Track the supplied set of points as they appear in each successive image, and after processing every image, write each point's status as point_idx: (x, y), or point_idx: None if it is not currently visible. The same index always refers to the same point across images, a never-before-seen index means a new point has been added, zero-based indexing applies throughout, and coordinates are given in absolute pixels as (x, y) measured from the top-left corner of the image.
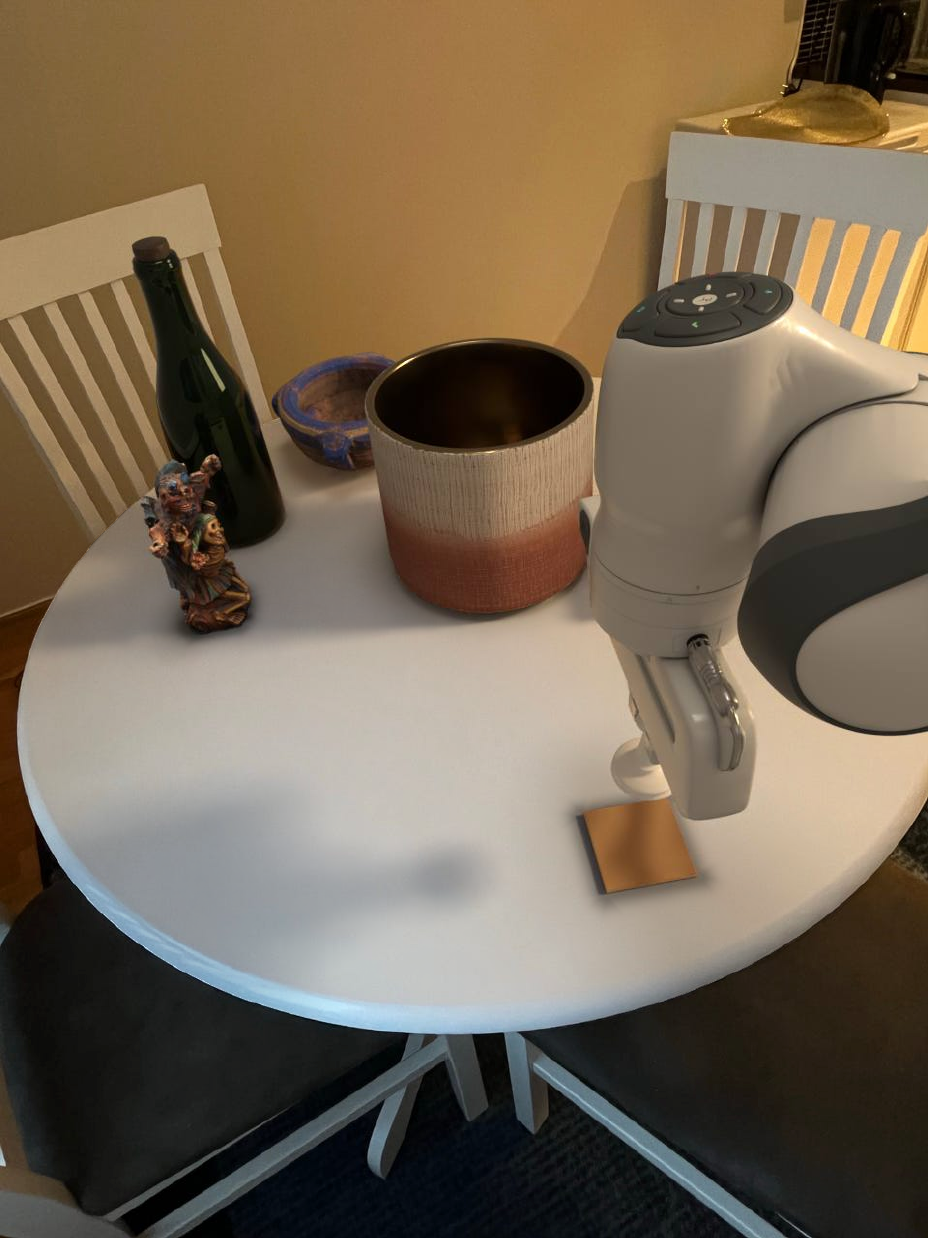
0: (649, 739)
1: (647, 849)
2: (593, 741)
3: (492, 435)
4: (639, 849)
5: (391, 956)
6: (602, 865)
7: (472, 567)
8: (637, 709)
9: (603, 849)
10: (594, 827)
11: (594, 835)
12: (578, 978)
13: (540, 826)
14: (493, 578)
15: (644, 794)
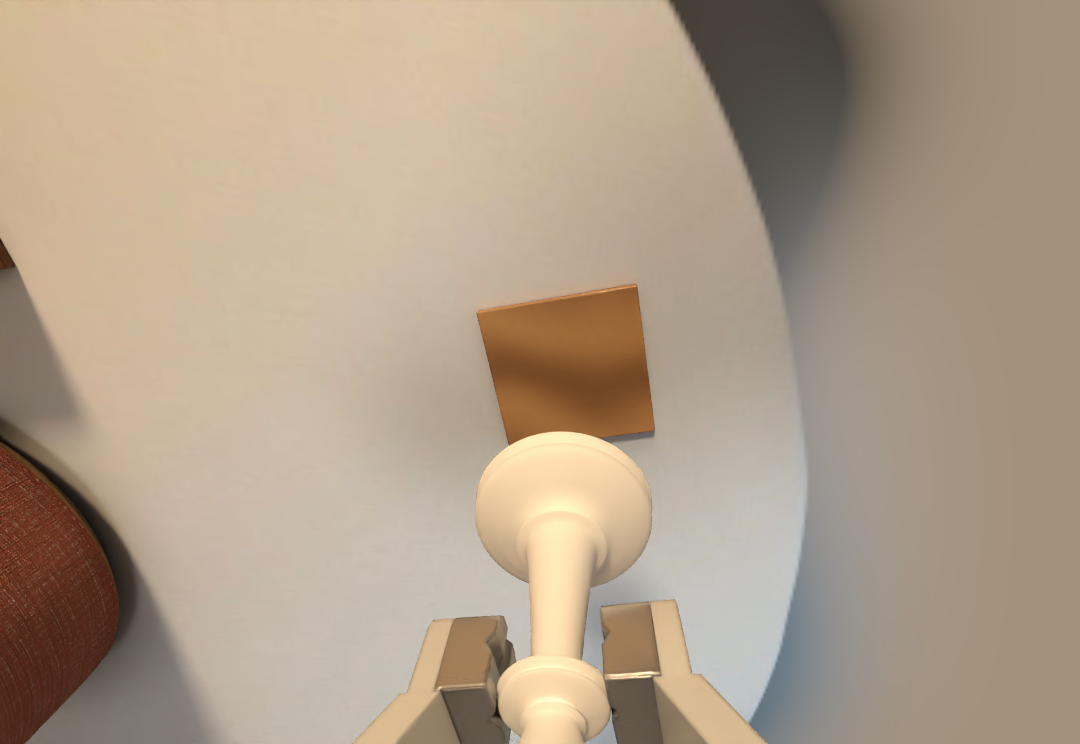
0: (651, 742)
1: (583, 361)
2: (361, 415)
3: None
4: (582, 373)
5: (713, 667)
6: (610, 432)
7: (6, 683)
8: (507, 738)
9: (580, 427)
10: None
11: None
12: (781, 475)
13: None
14: (22, 626)
15: (648, 538)
